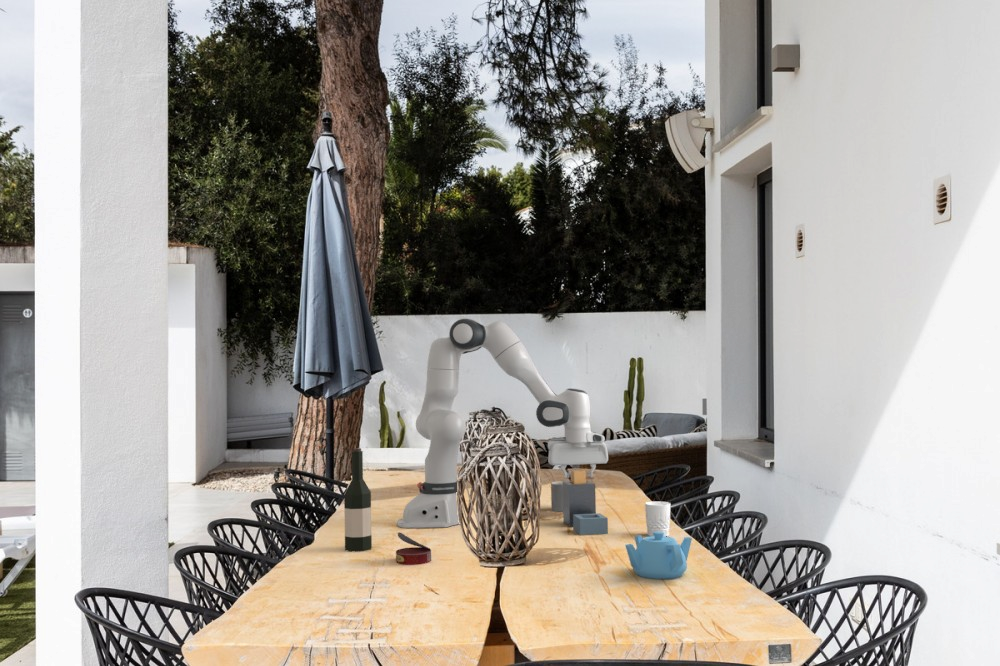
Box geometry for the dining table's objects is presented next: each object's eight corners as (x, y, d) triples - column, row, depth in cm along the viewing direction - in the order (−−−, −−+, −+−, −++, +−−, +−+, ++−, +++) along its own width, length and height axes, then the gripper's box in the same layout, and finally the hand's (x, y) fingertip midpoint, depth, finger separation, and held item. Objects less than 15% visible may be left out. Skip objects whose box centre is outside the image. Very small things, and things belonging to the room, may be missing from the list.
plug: (574, 492, 310) (574, 471, 310) (571, 491, 314) (571, 470, 314) (586, 492, 310) (585, 471, 311) (583, 490, 314) (582, 469, 315)
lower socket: (580, 535, 293) (580, 519, 293) (573, 530, 302) (573, 514, 302) (607, 533, 294) (607, 517, 294) (600, 528, 303) (599, 513, 303)
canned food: (399, 575, 262) (398, 541, 267) (434, 571, 262) (432, 537, 267) (392, 565, 252) (390, 529, 257) (428, 560, 252) (426, 525, 257)
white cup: (673, 533, 292) (673, 502, 293) (667, 538, 285) (666, 505, 285) (649, 532, 296) (648, 500, 296) (642, 536, 288) (641, 504, 289)
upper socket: (569, 527, 307) (568, 484, 307) (563, 522, 315) (562, 481, 316) (596, 526, 308) (595, 483, 309) (589, 521, 317) (588, 480, 317)
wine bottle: (349, 552, 272) (348, 450, 273) (340, 547, 280) (339, 448, 280) (376, 549, 276) (374, 448, 277) (367, 544, 283) (365, 446, 284)
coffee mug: (552, 512, 337) (552, 484, 337) (550, 508, 347) (550, 481, 347) (589, 511, 337) (588, 484, 338) (586, 507, 347) (585, 480, 347)
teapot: (622, 578, 235) (621, 536, 235) (635, 565, 249) (634, 525, 249) (683, 583, 229) (682, 539, 229) (693, 569, 243) (692, 528, 244)
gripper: (549, 438, 308) (550, 480, 307) (609, 436, 311) (609, 477, 311) (545, 436, 314) (546, 477, 314) (603, 435, 317) (604, 475, 317)
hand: (578, 477), depth 312 cm, fingers open, 7 cm apart
